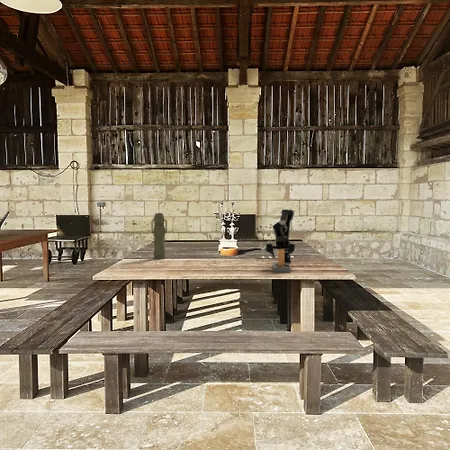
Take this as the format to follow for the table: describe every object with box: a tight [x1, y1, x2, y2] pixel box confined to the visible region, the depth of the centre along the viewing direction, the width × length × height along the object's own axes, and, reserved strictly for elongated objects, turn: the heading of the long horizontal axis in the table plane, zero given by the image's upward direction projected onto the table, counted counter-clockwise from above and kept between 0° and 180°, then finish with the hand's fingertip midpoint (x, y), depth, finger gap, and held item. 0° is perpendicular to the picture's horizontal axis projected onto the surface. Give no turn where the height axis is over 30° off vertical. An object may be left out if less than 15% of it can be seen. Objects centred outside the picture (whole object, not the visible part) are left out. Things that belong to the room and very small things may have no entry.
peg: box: [277, 249, 286, 266], centre depth 259 cm, size 4×4×13 cm
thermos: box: [150, 212, 168, 260], centre depth 309 cm, size 9×12×35 cm
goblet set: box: [258, 239, 295, 259], centre depth 314 cm, size 28×6×13 cm, turn 92°
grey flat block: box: [271, 261, 291, 273], centre depth 259 cm, size 20×10×3 cm, turn 176°
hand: (280, 257), depth 261 cm, fingers open, 9 cm apart
